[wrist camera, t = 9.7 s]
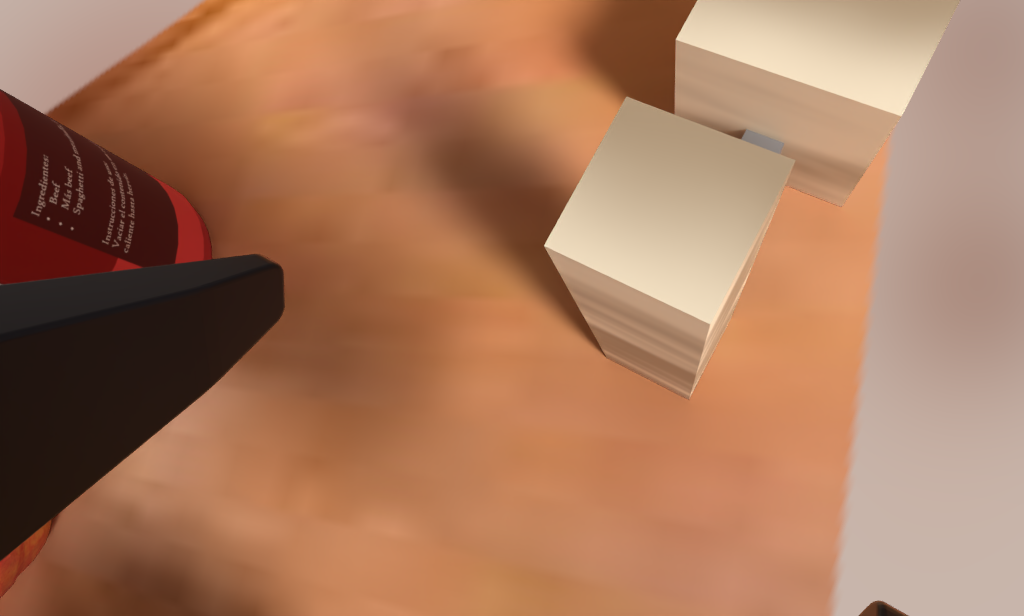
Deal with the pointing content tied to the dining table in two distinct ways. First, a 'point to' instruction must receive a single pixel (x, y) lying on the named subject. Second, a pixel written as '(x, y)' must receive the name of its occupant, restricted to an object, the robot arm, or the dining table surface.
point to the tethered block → (731, 164)
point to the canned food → (82, 206)
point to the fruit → (21, 558)
